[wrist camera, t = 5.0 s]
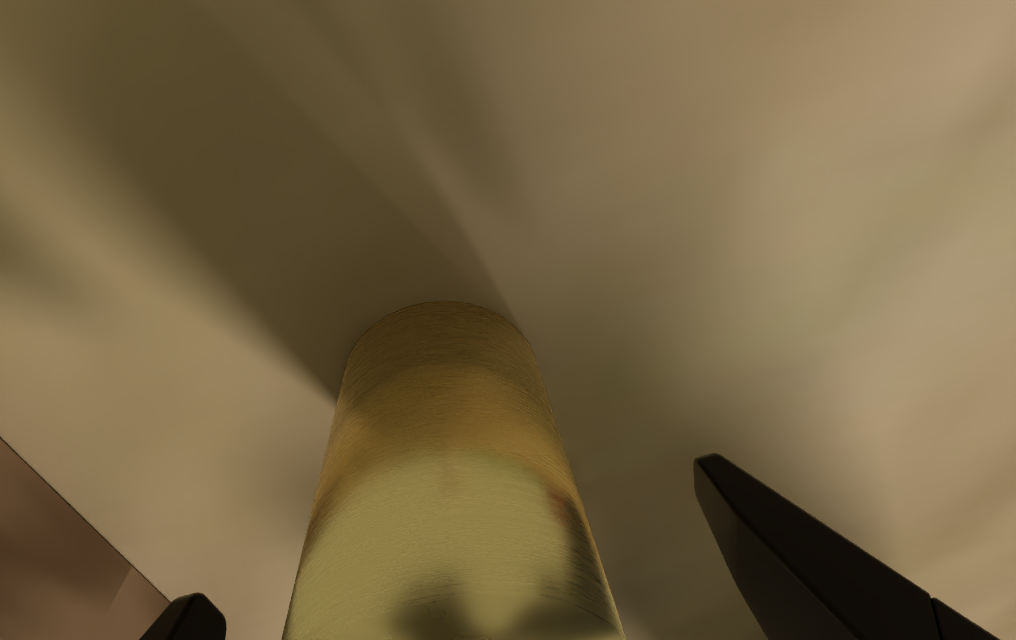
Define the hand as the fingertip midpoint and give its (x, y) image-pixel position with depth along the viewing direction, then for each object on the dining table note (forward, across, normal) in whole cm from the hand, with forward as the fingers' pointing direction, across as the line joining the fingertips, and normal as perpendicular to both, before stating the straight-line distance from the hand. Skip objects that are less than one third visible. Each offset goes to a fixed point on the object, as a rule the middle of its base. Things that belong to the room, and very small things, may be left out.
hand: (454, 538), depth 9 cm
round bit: (+4, 0, 0) cm, 4 cm away
